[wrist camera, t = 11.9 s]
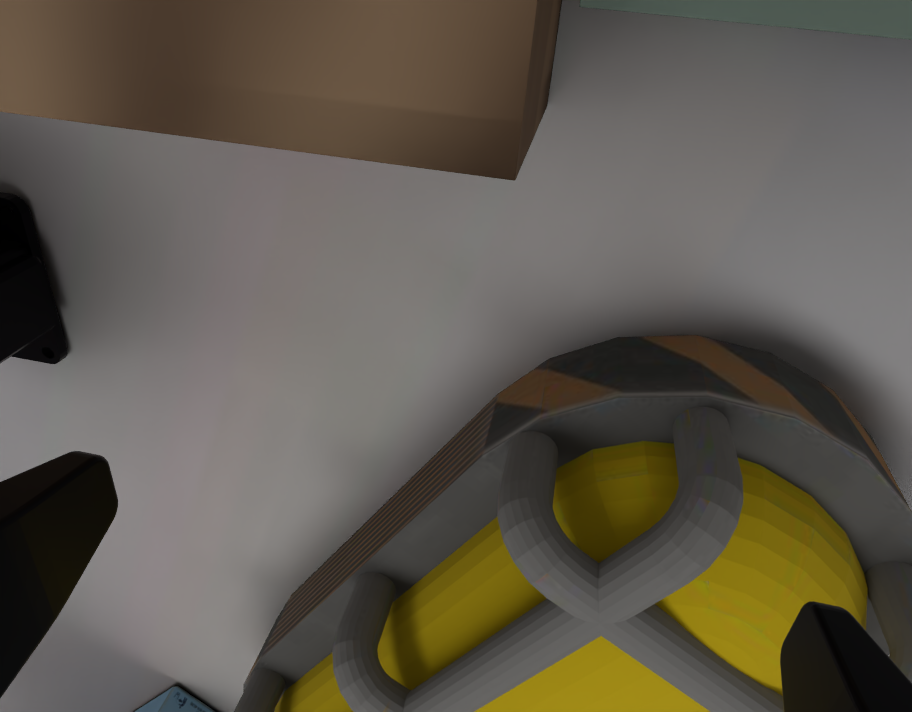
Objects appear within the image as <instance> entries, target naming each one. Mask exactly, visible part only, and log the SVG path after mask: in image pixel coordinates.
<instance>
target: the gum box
mask: <svg viewBox="0 0 912 712" xmlns="http://www.w3.org/2000/svg"><path fill="white" fill-rule="evenodd" d="M135 712H215V711H213V710H212V709H211V708H209V707H208V706H206V705H205V704H203V703H202V702H200V701H199V700H197V699H196V698H194V697H193V696H191V695H190V694H188V693H187V692H186V691H185V690H183V689H181V688H180V687H177V686H175V687H172V688H171V689H169V690H168V691H166V692H164V693H163V694H161V695H160V696H158V697H156V698H155V699H153V700H152V701H150V702H149V703H147V704H145V705H144V706H142V707H141V708H139V709H138V710H136V711H135Z"/></svg>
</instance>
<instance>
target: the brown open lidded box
mask: <svg viewBox="0 0 912 712" xmlns="http://www.w3.org/2000/svg"><path fill="white" fill-rule="evenodd" d="M561 4H562V0H0V112H7V113H14V114H22V115H29V116H37V117H44V118H52V119H59V120H67V121H74V122H82V123H89V124H97V125H104V126H112V127H119V128H126V129H134V130H141V131H149V132H156V133H164V134H171V135H179V136H186V137H194V138H201V139H209V140H216V141H224V142H231V143H238V144H246V145H253V146H261V147H268V148H276V149H283V150H291V151H298V152H306V153H313V154H321V155H328V156H336V157H343V158H351V159H358V160H365V161H373V162H380V163H388V164H395V165H403V166H410V167H418V168H425V169H433V170H440V171H448V172H455V173H463V174H470V175H478V176H485V177H492V178H500V179H507V180H516V177H517V175H518V173H519V170H520V168H521V166H522V163H523V161H524V159H525V156H526V154H527V152H528V149H529V147H530V145H531V142H532V140H533V138H534V135H535V133H536V131H537V128H538V126H539V124H540V121H541V119H542V117H543V114H544V112H545V110H546V107H547V104H548V96H549V89H550V82H551V75H552V68H553V61H554V54H555V46H556V39H557V32H558V25H559V18H560V11H561Z"/></svg>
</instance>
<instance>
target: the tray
mask: <svg viewBox="0 0 912 712" xmlns="http://www.w3.org/2000/svg"><path fill="white" fill-rule="evenodd" d="M579 7H586V8H596V9H606V10H616V11H626V12H636V13H646V14H656V15H667V16H677V17H687V18H697V19H707V20H717V21H727V22H737V23H747V24H757V25H768V26H778V27H788V28H798V29H808V30H818V31H828V32H838V33H848V34H858V35H869V36H879V37H889V38H899V39H909V40H912V0H580V6H579Z"/></svg>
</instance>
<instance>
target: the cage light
mask: <svg viewBox="0 0 912 712" xmlns="http://www.w3.org/2000/svg"><path fill="white" fill-rule="evenodd" d="M810 601H814V602H819V603H824V604H829V605H834V606H838V607H842V608H844V609H846V610H847V611H848V612H850V613H851V614H852V615H853V617H854V618H855V619H856V620H857V621H858V622H859V623H860V624H861V626H862V627H863V628H864V629H865V630H866V631H867V632H868V634H869V635H870V636H871V637H872V638H873V639H874V640H875V641H876V643H877V644H878V645H879V646H880V647H881V648H882V649H883V651H884V652H885V653H886V654H887V655H889V654H890V656H889V657H890V658H891V660H892V661H893V662H894V663H895V664H896V665H897V666H898V668H899V669H900V670H901V671H902V672H903V673H904V674H905V675H906V677H907V678H908V679H909V680H910V681H911V682H912V512H911V510H910V508H909V506H908V504H907V502H906V500H905V499H904V497H903V495H902V493H901V491H900V489H899V487H898V485H897V484H896V482H895V480H894V478H893V476H892V474H891V472H890V471H889V469H888V467H887V465H886V463H885V461H884V459H883V457H882V456H881V454H880V452H879V450H878V448H877V446H876V444H875V443H874V441H873V439H872V438H871V436H870V435H869V434H868V433H867V431H866V430H865V429H864V428H863V426H862V425H861V424H860V423H859V422H858V420H857V419H856V418H855V417H854V415H853V414H852V413H851V412H850V411H849V409H848V408H847V407H846V406H845V404H844V403H843V402H842V401H841V400H840V398H839V397H838V396H837V395H836V393H835V392H834V391H833V390H832V389H831V388H829V387H827V386H825V385H824V384H822V383H820V382H819V381H817V380H815V379H814V378H812V377H810V376H808V375H807V374H805V373H803V372H802V371H800V370H798V369H796V368H795V367H793V366H791V365H790V364H788V363H786V362H785V361H783V360H781V359H779V358H778V357H776V356H774V355H773V354H771V353H768V352H764V351H759V350H755V349H751V348H747V347H743V346H739V345H735V344H730V343H726V342H722V341H718V340H714V339H710V338H705V337H701V336H697V335H677V336H646V337H617V338H614V339H611V340H608V341H604V342H601V343H598V344H595V345H592V346H588V347H585V348H582V349H579V350H576V351H572V352H569V353H566V354H563V355H559V356H556V357H553V358H550V359H548V360H547V361H545V362H544V363H542V364H541V365H539V366H538V367H536V368H535V369H534V370H532V371H531V372H529V373H528V374H526V375H525V376H523V377H522V378H520V379H519V380H518V381H516V382H515V383H513V384H512V385H510V386H509V387H507V388H506V389H504V390H503V391H502V392H500V393H499V394H497V395H496V396H495V397H494V398H493V399H492V400H491V401H490V402H489V403H488V404H487V405H486V406H485V407H484V408H483V409H482V410H481V411H480V412H479V413H478V414H477V415H476V416H475V417H474V418H473V419H472V420H471V421H470V422H469V423H468V424H467V425H466V426H465V427H464V428H463V429H461V430H460V431H459V432H458V433H457V434H456V435H455V436H454V437H453V438H452V439H451V440H450V441H449V442H448V443H447V444H446V445H445V446H444V447H443V448H442V449H441V450H440V451H439V452H438V453H437V454H436V455H435V456H434V457H433V458H432V459H431V460H430V461H429V462H428V463H427V464H426V465H424V466H423V467H422V468H421V469H420V470H419V471H418V472H417V473H416V474H415V475H414V476H413V477H412V478H411V479H410V480H409V481H408V482H407V483H406V484H405V485H404V486H403V487H402V488H401V489H400V490H399V491H398V492H397V493H396V494H395V495H394V496H393V497H392V498H391V499H390V500H389V501H387V502H386V503H385V504H384V505H383V506H382V507H381V508H380V509H379V510H378V511H377V512H376V513H375V514H374V515H373V516H372V517H371V518H370V519H369V520H368V521H367V522H366V523H365V524H364V525H363V526H362V527H361V528H360V529H359V530H358V531H357V532H356V533H355V534H354V535H353V536H352V537H351V538H349V539H348V540H347V541H346V542H345V543H344V544H343V545H342V546H341V547H340V548H339V549H338V550H337V551H336V552H335V553H334V554H333V555H332V556H331V557H330V558H329V559H328V560H327V561H326V562H325V563H324V564H323V565H322V566H321V567H320V568H319V569H318V570H317V571H316V572H315V573H314V574H312V575H311V576H310V577H309V578H308V579H307V580H306V581H305V582H304V583H303V584H302V585H301V586H300V587H299V588H298V589H297V590H296V591H295V592H294V593H293V594H292V595H291V597H290V599H289V600H288V602H287V603H286V605H285V607H284V608H283V610H282V612H281V613H280V615H279V616H278V618H277V620H276V622H275V624H274V626H273V628H272V630H271V632H270V634H269V636H268V637H267V639H266V641H265V643H264V645H263V647H262V649H261V651H260V653H259V655H258V657H257V659H256V661H255V663H254V665H253V667H252V669H251V671H250V673H249V675H248V677H247V679H246V681H245V683H244V693H243V695H242V697H241V699H240V701H239V703H238V705H237V707H236V709H235V711H234V712H784V705H783V693H782V681H781V668H780V654H781V648H782V644H783V642H784V640H785V638H786V636H787V634H788V632H789V630H790V628H791V627H792V625H793V623H794V621H795V619H796V617H797V615H798V613H799V612H800V610H801V608H802V607H803V605H804V604H806V603H807V602H810Z"/></svg>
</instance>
